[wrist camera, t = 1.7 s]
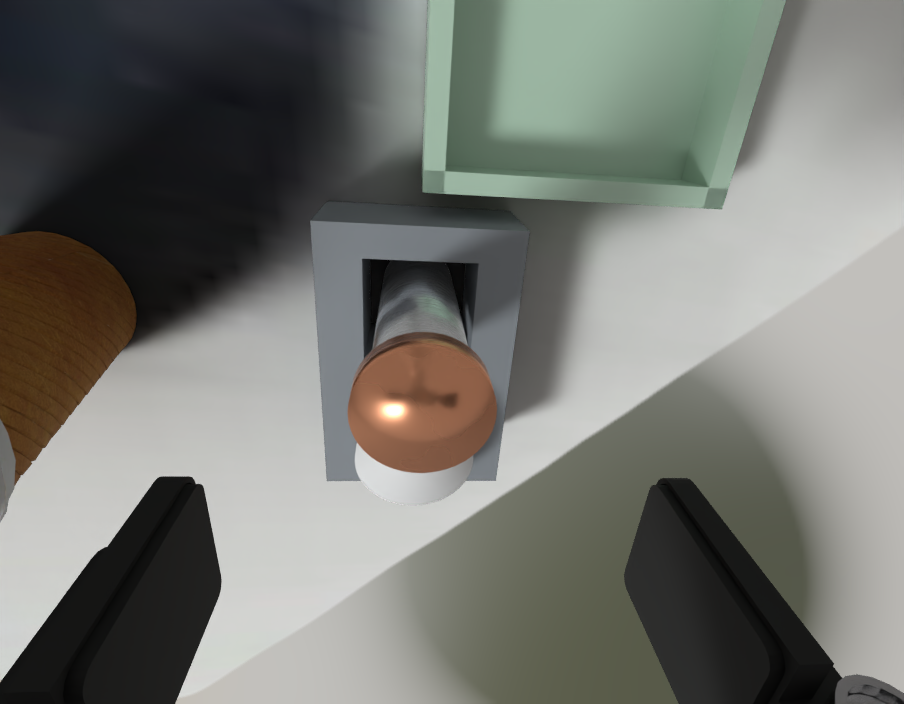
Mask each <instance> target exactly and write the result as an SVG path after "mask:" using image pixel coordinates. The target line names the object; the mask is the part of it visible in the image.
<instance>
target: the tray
mask: <svg viewBox="0 0 904 704" xmlns="http://www.w3.org/2000/svg"><path fill="white" fill-rule="evenodd" d="M785 2H786V0H428V7H427V35H426V63H425V91H424V120H423V148H422V176H421V184H422V191H423V193H440V194H458V195H476V196H493V197H511V198H529V199H546V200H564V201H582V202H600V203H617V204H635V205H653V206H671V207H688V208H706V209H722V207H723V204H724V201H725V198H726V194H727V191H728V188H729V185H730V181H731V178H732V175H733V172H734V168H735V165H736V162H737V159H738V155H739V152H740V149H741V146H742V142H743V139H744V136H745V133H746V129H747V126H748V123H749V120H750V116H751V113H752V110H753V107H754V103H755V100H756V97H757V94H758V90H759V87H760V84H761V81H762V77H763V74H764V71H765V68H766V64H767V61H768V58H769V55H770V51H771V48H772V45H773V41H774V38H775V35H776V32H777V28H778V25H779V22H780V19H781V15H782V12H783V9H784V6H785Z"/></svg>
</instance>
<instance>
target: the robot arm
mask: <svg viewBox="0 0 904 704" xmlns="http://www.w3.org/2000/svg"><path fill="white" fill-rule="evenodd" d="M624 578H625V585H626V589H627V591H628V593H629V596H630V598H631V600H632V602H633V604H634V607H635V609H636V611H637V613H638V615H639V617H640V620H641V622H642V624H643V626H644V628H645V631H646V633H647V635H648V637H649V639H650V642H651V644H652V646H653V648H654V650H655V653H656V655H657V657H658V659H659V661H660V664H661V666H662V668H663V670H664V672H665V674H666V677H667V679H668V681H669V683H670V685H671V688H672V690H673V692H674V694H675V696H676V699H677V701H678V703H679V704H904V693H902V692H901V691H899V690H897V689H896V688H894V687H892V686H891V685H889V684H887V683H885V682H882V681H880V680H877V679H875V678H872V677H868V676H862V675H851V676H845V677H844V678H842V677H841V676H840V675H839V674H838V672H837V671H836V670H835V668H834V667H833V665H834V663H833V662H832V660H831V659H830V658H829V657H828V655H827V654H826V653H825V651H824V650H823V649H822V648H821V646H820V645H819V644H818V642H817V641H816V640H815V639H814V637H813V636H812V635H811V633H810V632H809V631H808V630H807V628H806V627H805V626H804V624H803V623H802V622H801V621H800V619H799V618H798V617H797V615H796V614H795V613H794V612H793V610H792V609H791V608H790V606H789V605H788V604H787V602H786V601H785V600H784V599H783V598H782V596H781V595H780V593H779V592H778V591H777V590H776V588H775V587H774V586H773V584H772V583H771V582H770V581H769V579H768V578H767V577H766V576H765V574H764V573H763V572H762V570H761V569H760V568H759V566H758V565H757V564H756V563H755V561H754V560H753V559H752V557H751V556H750V555H749V554H748V552H747V551H746V550H745V548H744V547H743V546H742V544H741V543H740V542H739V541H738V539H737V538H736V537H735V536H734V534H733V533H732V532H731V530H730V529H729V528H728V526H727V525H726V524H725V523H724V522H723V520H722V519H721V517H720V516H719V515H718V514H717V512H716V511H715V510H714V509H713V507H712V506H711V505H710V504H709V502H708V501H707V499H706V498H705V497H704V496H703V494H702V493H701V492H700V490H699V489H698V488H697V486H696V485H695V484H694V483H693V482H692V481H691V480H690V479H687V478H662V479H660V480H659V481H658V482H657V484H656V485H653V486H652V487H651V488H650V490H649V493H648V496H647V500H646V503H645V506H644V510H643V513H642V516H641V520H640V523H639V526H638V530H637V533H636V536H635V539H634V543H633V546H632V549H631V553H630V556H629V559H628V563H627V566H626V569H625V574H624ZM220 590H221V574H220V569H219V563H218V558H217V553H216V548H215V543H214V538H213V533H212V528H211V523H210V517H209V512H208V507H207V502H206V497H205V492H204V488H203V486H202V485H201V484H195V481H194V479H193V478H192V477H159V478H157V479H156V480H155V482H154V483H153V484H152V486H151V487H150V488H149V490H148V491H147V493H146V494H145V495H144V497H143V498H142V500H141V501H140V502H139V504H138V505H137V506H136V508H135V509H134V511H133V512H132V513H131V515H130V516H129V518H128V519H127V520H126V522H125V523H124V525H123V526H122V527H121V529H120V530H119V531H118V533H117V534H116V536H115V537H114V538H113V540H112V541H111V543H110V544H109V545H108V547H105V548H103V549H101V550H100V551H98V552H97V553H96V554H95V555H94V557H93V558H92V559H91V560H90V561H89V563H88V564H87V565H86V567H85V568H84V570H83V571H82V572H81V574H80V575H79V576H78V578H77V579H76V580H75V582H74V583H73V584H72V586H71V587H70V589H69V590H68V591H67V593H66V594H65V595H64V597H63V598H62V599H61V601H60V602H59V603H58V605H57V606H56V608H55V609H54V610H53V612H52V613H51V614H50V616H49V617H48V618H47V620H46V621H45V622H44V624H43V625H42V627H41V628H40V629H39V631H38V632H37V633H36V635H35V636H34V637H33V639H32V640H31V641H30V643H29V644H28V645H27V647H26V648H25V650H24V651H23V652H22V654H21V655H20V656H19V658H18V659H17V660H16V662H15V663H14V664H13V666H12V667H11V669H10V670H9V671H8V673H7V674H6V675H5V677H4V678H3V679H2V681H1V682H0V704H175V702H176V700H177V698H178V695H179V693H180V690H181V688H182V685H183V683H184V680H185V678H186V676H187V673H188V671H189V668H190V666H191V663H192V661H193V659H194V656H195V654H196V651H197V649H198V646H199V644H200V641H201V639H202V637H203V634H204V632H205V629H206V627H207V624H208V622H209V619H210V617H211V615H212V612H213V610H214V607H215V605H216V602H217V600H218V597H219V594H220Z"/></svg>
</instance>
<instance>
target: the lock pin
mask: <svg viewBox="0 0 904 704" xmlns="http://www.w3.org/2000/svg"><path fill="white" fill-rule="evenodd" d="M496 416H497V403H496V397H495V393H494V390H493V386H492V383H491V380H490V376H489V373H488V371H487V368H486V366H485V364H484V363H483V361H482V360H481V358H480V357H479V356H478V355H477V354H476V352H474V351H473V350H472V349H471V348H470V347H469V346H468V344H467V340H466V336H465V332H464V328H463V323H462V319H461V315H460V311H459V307H458V303H457V298H456V294H455V290H454V286H453V282H452V278H451V274H450V270H449V268H448V266H447V265H446V263H445V262H431V261H408V260H391V261H390V263H389V264H388V266H387V268H386V270H385V273H384V278H383V284H382V291H381V297H380V304H379V310H378V317H377V323H376V329H375V336H374V342H373V349H372V351H371V352H370V353H369V354H368V355H367V356H366V357H365V358H364V359H363V361H362V362H361V363H360V365H359V367H358V369H357V371H356V373H355V376H354V379H353V384H352V388H351V393H350V398H349V403H348V422H349V426H350V429H351V432H352V434H353V436H354V438H355V440H356V441H357V443H358V445H359V446H360V447H361V448H362V449H363V450H364V451H365V452H366V453H367V454H368V455H369V456H370V457H372V458H373V459H375V460H376V461H377V462H379V463H381V464H383V465H385V466H387V467H390V468H393V469H396V470H400V471H404V472H411V473H430V472H437V471H441V470H445V469H449V468H451V467H454V466H456V465H458V464H460V463H462V462H464V461H466V460H467V459H469V458H470V457H472V456H473V455H474V454H475V453H476V452H478V451H479V450H480V448H481V447H482V446H483V445H484V444H485V442H486V441H487V440H488V438H489V436H490V435H491V433H492V431H493V428H494V425H495V421H496Z"/></svg>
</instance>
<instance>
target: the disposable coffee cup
mask: <svg viewBox="0 0 904 704" xmlns="http://www.w3.org/2000/svg"><path fill="white" fill-rule="evenodd" d="M136 318H137V314H136V307H135V302H134V299H133V297H132V294H131V292H130V289H129V287H128V286H127V284H126V282H125V281H124V279H123V278H122V276H121V275H120V273H119V272H118V271H117V270H116V269H115V267H114V266H113V265H112V264H110V263H109V262H108V261H107V260H106V259H105V258H104V257H103V256H102V255H100V254H99V253H97V252H96V251H95V250H93V249H92V248H90V247H89V246H87V245H84V244H82V243H80V242H78V241H76V240H74V239H71V238H69V237H66V236H63V235H59V234H56V233H49V232H41V231H34V232H21V233H16V234H9V235H3V236H0V522H1V520H2V518H3V517H4V515H5V513H6V512H7V506H8V500H9V498H10V496H11V494H12V492H13V490H14V486H15V484H16V483H17V481H18V480H19V478H20V477H21V476H20V475H23V474H24V473H25V471H26V470H27V469H28V468H29V467H30V465H31V464H32V463H31V461H34V460H36V458H37V457H38V455H39V454H40V452H41V451H42V448H45V447H46V446H47V444H48V443H49V441H50V439H51V438H52V437H53V436H54V435H55V434H56V433H57V431H58V430H59V429H60V428H61V425H64V423H65V421H66V420H67V418H68V417H69V415H71V414H72V412H73V411H74V410H75V408H76V407H77V405H79V404H80V402H81V401H82V400H83V398H84V397H85V395H87V394H88V393H89V391H90V390H91V388H92V387H93V386H94V385H95V383H96V382H97V381H98V379H99V378H100V377H101V376H102V375H103V373H104V372H105V370H107V369H108V367H109V366H110V364H111V363H112V362H113V361H114V359H115V358H116V357H117V355H119V353H120V352H121V350H122V349H123V348H124V347H126V345H127V344H128V342H129V341H130V339H131V338H132V336H133V333H134V330H135V327H136Z"/></svg>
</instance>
